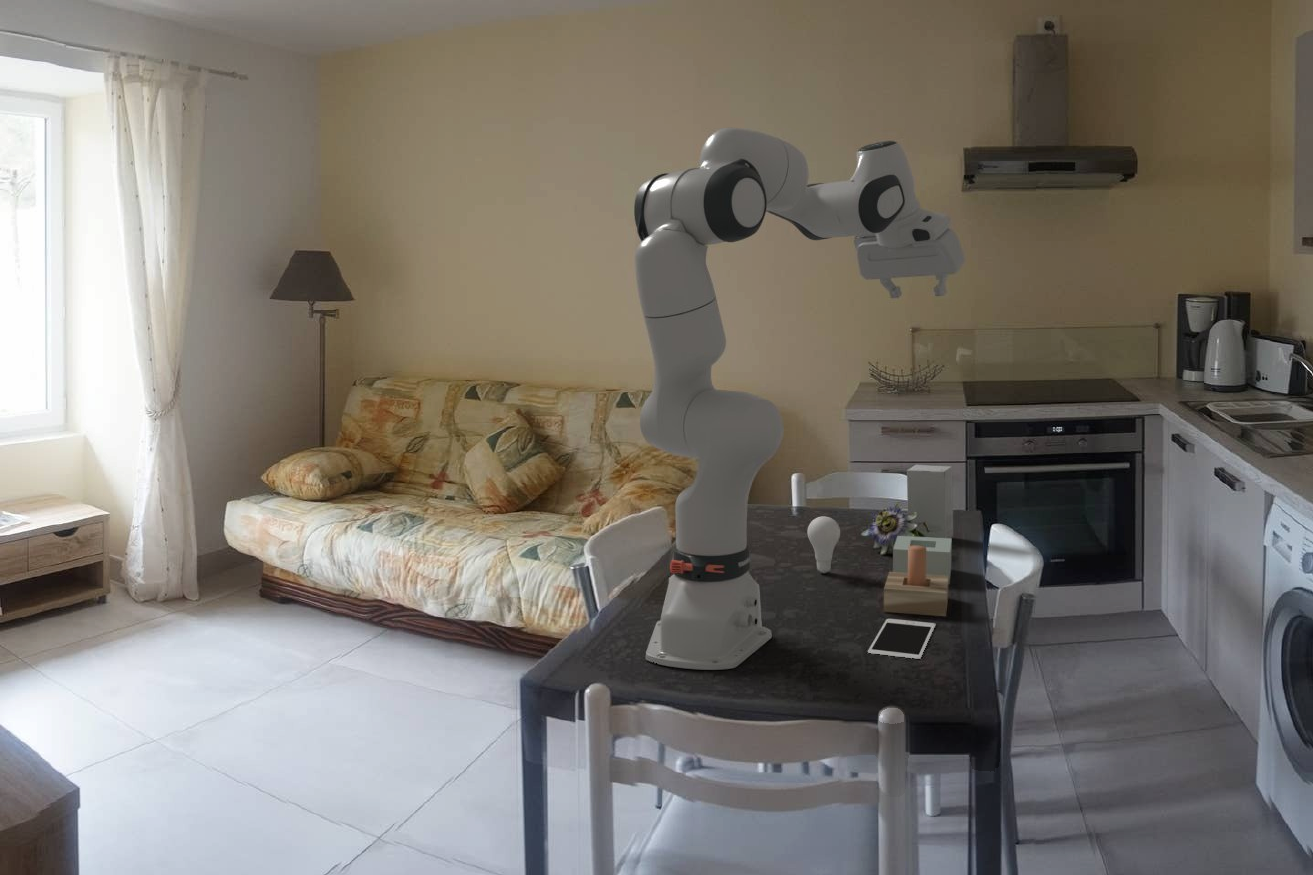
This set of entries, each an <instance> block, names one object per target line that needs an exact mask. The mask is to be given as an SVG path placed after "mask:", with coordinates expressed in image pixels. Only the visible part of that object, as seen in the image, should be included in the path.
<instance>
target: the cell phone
mask: <svg viewBox="0 0 1313 875" xmlns="http://www.w3.org/2000/svg"><path fill="white" fill-rule="evenodd" d="M936 626H937V624H936V623H935V622H924V621H915V620H907V619H898V618H897V619H896V618H886V620H885V621H884V622H883V624H882V626H881V628H880V629H879V631H878V633H877V634H876V636H875V638H874V640H873V642H872V643H871V645H870V646H869V648H868V650H867V652H868V653H871V654H870V655H874V654H880V655H879V656H882V655H888V656H887V657H890V656H895V657H894V658H898V657H905V658H904V659H906V658H911V659H910V660H914V659H920V660H922V658H921V657H923V656H922V655H924V653H925V651H926V649H925V648H927V647H926V646H928V644H929V642H928V641H930V640H929V639H931V638H930V637H932V635H933V633H934V630H935V629H934V628H936ZM932 632H933V633H932ZM927 643H928V644H927ZM924 650H925V651H924ZM923 652H924V653H923ZM868 653H867V654H868ZM912 658H914V659H912Z"/></svg>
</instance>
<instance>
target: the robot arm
mask: <svg viewBox="0 0 1313 875" xmlns="http://www.w3.org/2000/svg"><path fill="white" fill-rule="evenodd" d="M699 156H700V157H699V167H694V168H687V169H682V170H678V171H674V172H671V173H666V172H665V173H661V174H658V175H655V176H654V177H652V178H649V179H648V180H646V181H645V182H644V183H642V185H640V186H639V189H638V190H637V192H636V195H635V200H634V207H633V208H634V209H633V213H634V222H635V227H636V228H637V229H636V232H637V235H638V237H639V239H640V243H639V244H638V246H637V247H636V251H635V255H634V261H635V262H634V264H635V275H636V286H637V291H638V298H639V302H640V303H639V304H640V306H641V311H642V316H643V319H644V323H645V327H646V330H647V335H648V338H649V343H650V348H651V352H652V357H653V363H654V380H653V381H654V382H653V386H652V391H651V393H650V395H649V396H648V397H647V398H646V399H645V401H644V403H643V405H642V408H641V410H640V414H639V426H640V431H641V434H642V437H643V438H644V440H645V441H646V442H647V443H648V444H649V445H651V446H652V447H653V448H656V449H658V450H661V451H663V452H665V453H667V454H670V455H671V456H678V457H683V458H684V457H685V458H690V459H697V470H696V474H695V478H694V481H693V482H692V484H691V485H689V486H688V487H686V488H685V489H683V490H682V491H681V492H680V493H679V495H677V497H676V500H675V504H674V505H675V507H674V508H675V535H676V536H675V542H676V544H675V546H674V548H673V554H672V559H671V561H670V564H669V566H670V567H669V569H670V570H669V571H670V574H672V575H670V577H668V585H667V590H666V594H665V597H664V598H665V599H664V601H663V606H662V608H661V614H660V620H658V621H657V622H656V623H655V626H654V629H653V632H652V635H651V637H650V640H649V643H648V645H647V649H646V651H645V661H648V662H650V663H653V662H654V663H653V664H656V663H657V665H661V666H666V667H671V668H672V667H673V668H678V669H688V670H689V669H690V670H691V669H692V670H702V671H703V670H704V671H705V670H709V671H711V670H712V671H713V670H714V671H716V670H720V671H721V670H729V669H735V668H736V667H738V666H739V665H740V664H742V663H743V662H744V661H745V660H746V659H748V658H749V657H750V656H752V655H753V653H755V652H756V651H758V650H759V649H760V648H761V647H762V646H763V645H765V644H766V643H767V642H769V640H771V639H772V637H773V636H772V630H771V629H769V628H767V627H766V626H763V624H762V606H761V592H760V591H761V590H760V585H759V583H758V582H757V581H756V580H755V579H754V578H753V576H752V575H751V574H750V571H749V570H750V569H751V553H750V547H749V546H750V545H748V544H747V530H748V528H747V524H748V523H747V521H748V519H747V518H748V502H749V494H750V490H751V487H752V484H753V481H754V479H755V477H756V475H757V474H758V472H759V470H760V469H761V467H762V466H763V465H764V464H765V463H766V462H768V461H769V460H771V458H773V456H774V455H775V454H776V453H777V451H778V450H779V448H780V446H781V443H782V441H783V436H784V422H783V418H782V414H781V411H780V410H779V408H778V407H777V405H776V404H775V403H774V402H772V401H771V400H769V399H766V398H763V397H761V396H758V395H755V394H753V393H750V392H745V391H737V390H726V389H725V390H723V389H715V387H714V384H713V382H712V381H713V380H712V367H713V365H715V363H717V362H718V361H719V360H720V358H721V357H722V356H723V354H724V352H725V350H726V347H727V338H726V334H725V330H724V326H723V322H722V317H721V313H720V307H719V304H718V299H717V295H716V292H715V288H714V283H713V281H712V278H711V273H710V271H709V269H708V266H707V252H708V249H709V246H710V245H711V246H712V245H717V244H721V243H735V242H740V241H743V240H745V239H748V238H750V237H751V236H754V234H756V233H757V232H758V231H759V229H760V228H761V226H762V224H763V221H764V219H765V217H766V213H768V214H771V215H774V216H776V217H778V218H780V219H783V220H785V221H787V222H789V223H791V224H792V225H793V226H795V227H796V229H797V230H799V232H800V233H801V234H802V235H803V236H805V237H806V238H808V239H809V240H811V241H821V240H823V241H824V240H828V239H832V238H833V239H834V238H845V237H853V245H854V248H855V251H856V257H857V264H858V269H859V272H860V275H861V277H862V278H863V279H865V280H868V281H869V280H879V282H880V284H881V286H883V287H884V288H885V289H886V291H887V292H888V294H889V296H890V299H899V298H900V297H901V296H902V291H901V286H897V285H896V284H895V283H894V282H893V281H892V279H896V278H898V279H899V278H900V279H901V278H914V277H928V276H932V277H933V276H934V277H935V280H936V281H938V283H937V284H936V286H934V287H933V292H934V295H935V297H944V296H945V295H946V294H947V292H948V290H947V286H946V284H947V280H948V278H949V277H948V276H949V275H955V274H957V273H958V271H960V269H962V267H963V266H964V264H965V254H964V251H963V248H962V245H961V242H960V239H959V237H958V235H957V233H956V232H955V231H954V230H953V229H951V228H950V226H951V225H952V219H951V217H950V215H949V214H945V213H940V212H936V211H931V210H928V209H925V208H921V207H922V206H921V204H920V202H919V200H918V198H917V196H916V193H915V182H914V177H913V174H912V170H911V167H910V164H909V161H908V159H907V156H906V154H905V151H904V149H903V148H902V146H901V145H900V143H899V142H897V141H894V140H886V141H879V142H875V143H870V144H866V145H864V146H862V147H860V148H859V149H858V150H857V151H856V164H857V165H856V168H855V171H854V173H853V175H852V176H851V177H850V179H849V180H841V181H831V182H819V183H809V177H810V173H809V172H810V171H809V165H808V162H807V159H806V157H805V155H804V153H803V152H802V151H801V150H800V149H798V148H797V147H796V146H794V145H793V144H791V143H789V142H788V141H785V140H783V139H781V138H779V137H778V138H777V137H775V136H773V135H772V134H771V135H770V134H767V133H764V132H761V131H759V130H758V131H757V130H753V129H747V128H741V127H740V128H738V127H724V128H721V129H718V130H716V131H714V132H713V133H712V134H710V136H709V137H708V138H707V139H706V140H705V142H704V144H703V146H702V148H701V151H700V155H699ZM708 245H709V246H708Z"/></svg>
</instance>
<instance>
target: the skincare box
mask: <svg viewBox="0 0 1313 875" xmlns="http://www.w3.org/2000/svg"><path fill="white" fill-rule="evenodd" d="M953 482H954V481H953V466H951V465H928V464H914V465H913V466H911V467H910V468H908V469H907V470H906V486H907V488H906V489H907V490H906V491H907V492H906V493H907V494H906V496H907V497H906V498H907V500H906V501H907V514H908V513H914V512H916V513H917V517H916V518H914V519H913V520H912V521H910V522H911V523H914V524H919V523H922V522H926V524H927V525H928V528H929V529H930V532H927V529H926V527H925V526H924V525H923V523H922V524H919V525H917V528H916V530H917V531H919V532H921V533H922V534H924V535H925V536H926V537H932V538H951V539H952V538H953V537H954V502H953V501H954V498H953V497H954V496H953V495H954V494H953V493H954V491H953V490H954V488H953Z"/></svg>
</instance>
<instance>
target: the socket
mask: <svg viewBox="0 0 1313 875" xmlns="http://www.w3.org/2000/svg"><path fill="white" fill-rule="evenodd" d="M915 545H916V546H924V547H926V574H931V575H947V576H948V585H950V582H951V572H952V538H932V537H912V536H897V539H896V542H895V545H894V548H892V572H899V573H908V547H909V546H915Z"/></svg>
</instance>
